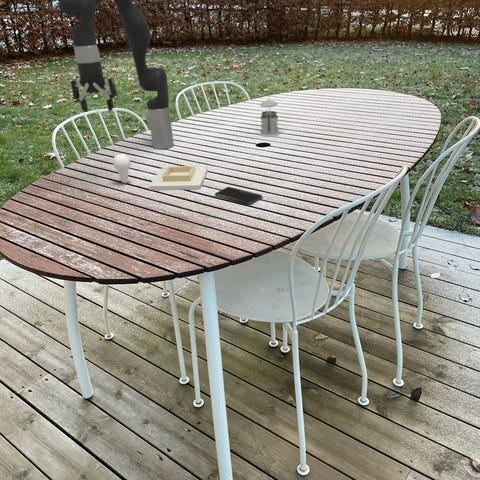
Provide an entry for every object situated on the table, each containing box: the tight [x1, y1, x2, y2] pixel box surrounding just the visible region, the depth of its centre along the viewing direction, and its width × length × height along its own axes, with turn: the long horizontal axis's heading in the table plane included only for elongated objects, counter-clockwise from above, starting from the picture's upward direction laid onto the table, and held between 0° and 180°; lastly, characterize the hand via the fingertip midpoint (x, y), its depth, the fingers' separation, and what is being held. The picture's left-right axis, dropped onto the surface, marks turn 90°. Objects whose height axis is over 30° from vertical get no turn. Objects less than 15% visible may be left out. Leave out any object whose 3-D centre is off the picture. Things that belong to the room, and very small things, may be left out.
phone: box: [214, 186, 263, 206], centre depth 156 cm, size 8×1×15 cm
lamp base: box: [148, 165, 209, 191], centre depth 172 cm, size 18×18×4 cm
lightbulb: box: [112, 153, 131, 184], centre depth 170 cm, size 6×6×11 cm
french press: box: [258, 77, 281, 138], centre depth 212 cm, size 10×12×25 cm
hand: (98, 110), depth 160 cm, fingers open, 8 cm apart
